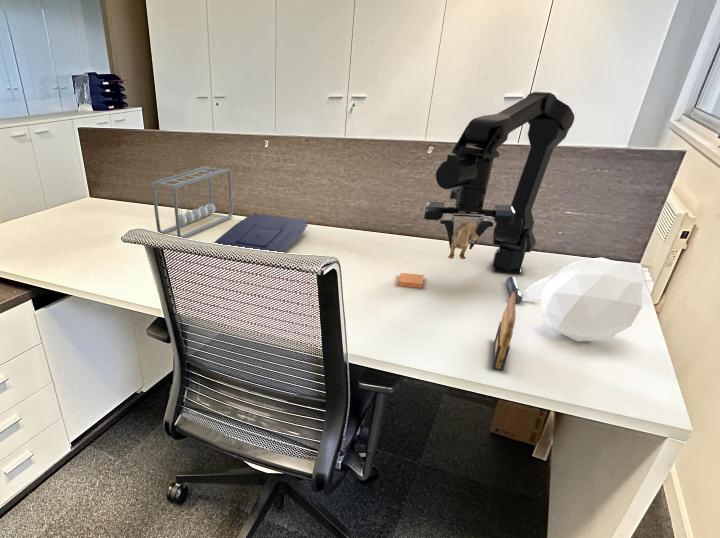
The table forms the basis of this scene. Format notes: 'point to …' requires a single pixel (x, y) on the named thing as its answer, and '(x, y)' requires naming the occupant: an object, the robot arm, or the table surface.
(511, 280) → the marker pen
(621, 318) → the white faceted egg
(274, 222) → the navy blue flat slab
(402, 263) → the table surface
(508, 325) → the ammunition clip
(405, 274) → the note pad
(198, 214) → the newton's cradle
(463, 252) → the lion figurine
